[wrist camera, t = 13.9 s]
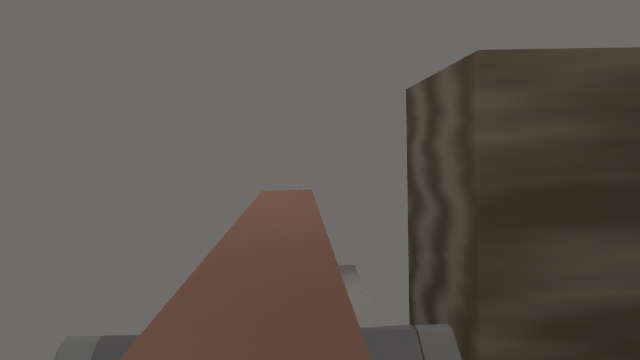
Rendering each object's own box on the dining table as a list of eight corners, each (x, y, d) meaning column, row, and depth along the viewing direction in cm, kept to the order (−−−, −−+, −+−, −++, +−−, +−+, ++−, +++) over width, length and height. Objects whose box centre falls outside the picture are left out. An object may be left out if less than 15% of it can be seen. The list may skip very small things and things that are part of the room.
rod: (263, 240, 30) (261, 191, 30) (312, 238, 30) (311, 189, 30) (98, 681, 5) (85, 399, 5) (385, 666, 5) (381, 387, 5)
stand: (395, 459, 42) (389, 91, 41) (561, 452, 43) (560, 88, 41) (466, 688, 24) (460, 46, 23) (752, 672, 25) (762, 41, 23)
